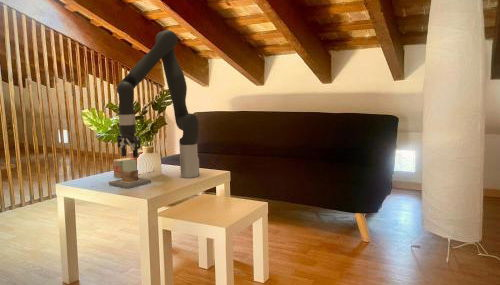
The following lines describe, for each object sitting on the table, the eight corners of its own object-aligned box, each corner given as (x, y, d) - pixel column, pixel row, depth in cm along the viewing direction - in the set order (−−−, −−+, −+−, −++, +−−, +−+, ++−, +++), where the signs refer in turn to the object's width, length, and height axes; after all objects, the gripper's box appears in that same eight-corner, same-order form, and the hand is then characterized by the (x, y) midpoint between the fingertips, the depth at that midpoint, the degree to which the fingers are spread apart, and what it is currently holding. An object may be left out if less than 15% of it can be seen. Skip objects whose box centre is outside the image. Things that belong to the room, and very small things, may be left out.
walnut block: (131, 179, 196) (130, 169, 195) (138, 180, 193) (138, 170, 192) (122, 181, 191) (121, 171, 191) (129, 182, 188) (128, 172, 188)
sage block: (130, 169, 194) (129, 159, 194) (136, 170, 192) (136, 160, 191) (122, 171, 191) (122, 160, 190) (129, 172, 188) (128, 161, 188)
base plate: (132, 179, 202) (132, 176, 202) (151, 182, 194) (151, 179, 194) (109, 185, 191) (109, 181, 190) (128, 188, 183) (127, 185, 183)
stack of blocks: (120, 178, 205) (119, 155, 203) (113, 177, 209) (112, 154, 207) (153, 171, 222) (152, 150, 220) (146, 170, 225) (145, 149, 224)
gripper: (143, 123, 188) (145, 156, 190) (124, 122, 196) (126, 154, 198) (130, 125, 182) (133, 159, 184) (111, 124, 190) (114, 156, 192)
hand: (129, 156), depth 191 cm, fingers open, 8 cm apart
